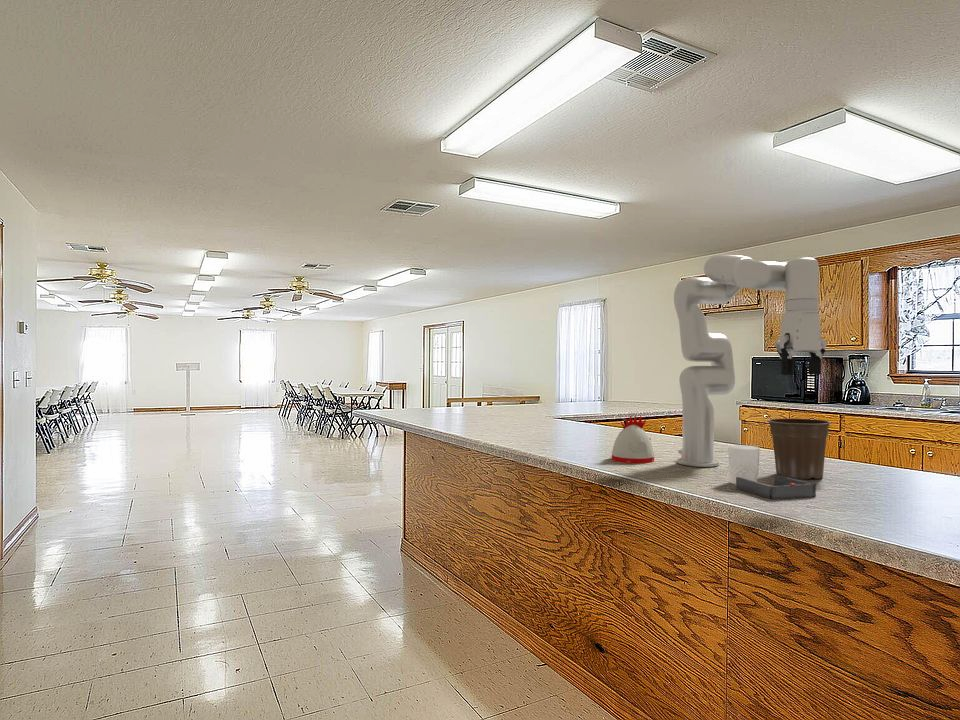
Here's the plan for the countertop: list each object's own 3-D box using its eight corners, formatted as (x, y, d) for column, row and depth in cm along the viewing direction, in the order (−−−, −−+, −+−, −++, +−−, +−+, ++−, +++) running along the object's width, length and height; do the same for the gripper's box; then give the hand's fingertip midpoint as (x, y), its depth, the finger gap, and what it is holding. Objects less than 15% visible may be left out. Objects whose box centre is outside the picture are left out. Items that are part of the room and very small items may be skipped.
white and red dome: (659, 463, 201) (659, 417, 201) (616, 463, 201) (616, 417, 201) (648, 457, 215) (648, 413, 215) (608, 456, 215) (608, 413, 215)
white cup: (741, 487, 164) (741, 449, 164) (722, 481, 172) (722, 445, 172) (766, 485, 166) (766, 448, 166) (746, 480, 174) (746, 444, 174)
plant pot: (766, 478, 177) (766, 421, 177) (769, 469, 191) (769, 416, 191) (831, 483, 169) (831, 424, 169) (829, 473, 184) (829, 419, 184)
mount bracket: (735, 488, 162) (736, 475, 162) (776, 485, 166) (777, 473, 166) (772, 499, 150) (772, 485, 150) (816, 496, 154) (816, 482, 154)
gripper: (812, 309, 165) (811, 374, 165) (764, 307, 158) (764, 374, 158) (838, 307, 158) (838, 374, 158) (790, 305, 151) (789, 375, 151)
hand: (801, 374), depth 158 cm, fingers open, 9 cm apart
